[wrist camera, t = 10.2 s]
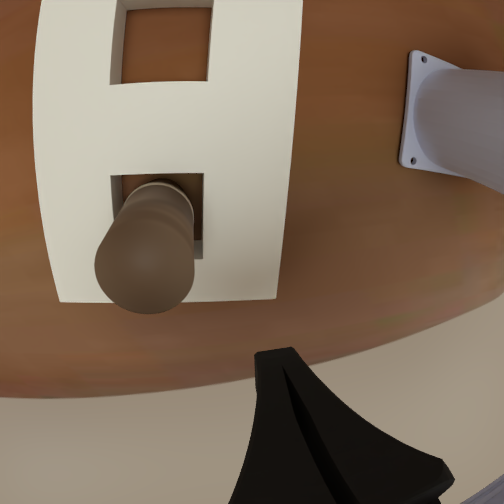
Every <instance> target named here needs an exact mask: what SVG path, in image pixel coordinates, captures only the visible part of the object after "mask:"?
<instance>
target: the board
mask: <svg viewBox="0 0 504 504" xmlns="http://www.w3.org/2000/svg"><path fill="white" fill-rule="evenodd" d="M302 6H303V0H42V3H41V8H40V15H39V22H38V29H37V38H36V48H35V59H34V76H33V138H34V155H35V168H36V178H37V187H38V195H39V203H40V210H41V216H42V223H43V229H44V234H45V240H46V245H47V250H48V255H49V259H50V264H51V268H52V273H53V277H54V281H55V285H56V289H57V293H58V296H59V300H60V302H87V303H114V302H113V301H111V300H110V299H109V298H108V297H107V296H106V295H105V293H104V292H103V291H102V289H101V288H100V286H99V284H98V281H97V279H96V275H95V269H94V262H95V256H96V252H97V249H98V247H99V245H100V244H101V242H102V240H103V238H104V237H105V235H106V233H107V232H108V230H109V228H110V227H111V225H112V223H113V222H114V220H115V218H116V217H117V215H118V213H119V212H120V210H121V208H122V207H123V197H122V179H121V175H129V174H157V173H203V175H202V240H194V266H195V275H194V281H193V285H192V288H191V290H190V292H189V293H188V295H187V296H186V297H185V299H184V300H183V301H182V302H210V301H239V300H262V299H276V294H277V286H278V277H279V269H280V260H281V251H282V242H283V233H284V224H285V215H286V205H287V195H288V185H289V175H290V165H291V154H292V143H293V131H294V120H295V108H296V95H297V82H298V69H299V54H300V39H301V23H302ZM171 7H209V8H212V11H211V22H210V35H209V48H208V62H207V78H206V82H205V81H176V82H146V83H130V84H121V75H122V58H123V45H124V33H125V24H126V15H127V10H136V9H150V8H171Z"/></svg>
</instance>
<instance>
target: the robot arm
mask: <svg viewBox="0 0 504 504" xmlns="http://www.w3.org/2000/svg"><path fill="white" fill-rule="evenodd" d="M421 57H422V58H423V60H424V62H422V60H421ZM412 157H413V162H412V163H411V158H412ZM399 163H400V164H401V165H402V166H404V167H407V168H414V169H420V170H426V171H432V172H438V173H444V174H449V175H455V176H460V177H465V178H469V179H471V180H474V181H476V182H478V183H480V184H483V185H485V186H487V187H489V188H491V189H494V190H496V191H498V192H500V193H502V194H504V72H500V71H487V70H470V69H461V68H459V67H457V66H455V65H452V64H450V63H448V62H446V61H443V60H441V59H438V58H436V57H434V56H431V55H429V54H426V53H423V52H421V51H418V50H413V51H411V52H410V55H409V70H408V84H407V96H406V106H405V116H404V124H403V132H402V140H401V147H400V154H399ZM254 359H255V382H256V383H255V385H256V392H257V401H256V408H255V415H254V422H253V428H252V432H251V437H250V441H249V446H248V449H247V452H246V456H245V460H244V463H243V466H242V469H241V472H240V476H239V478H238V481H237V483H236V486H235V489H234V491H233V494H232V496H231V499H230V501H229V503H228V504H441V502H440V501H439V499H438V497H439V496H440V495H442V493H444V492H445V491H446V490H447V489H448V488H450V486H452V485H453V483H454V480H455V478H454V477H453V475H452V473H451V471H450V470H449V468H448V467H447V465H446V464H445V463H444V461H443V460H442V459H440V458H437V457H435V456H432V455H429V454H427V453H424V452H422V451H419V450H417V449H415V448H413V447H411V446H408V445H406V444H404V443H402V442H400V441H399V440H397V439H395V438H393V437H392V436H390V435H388V434H386V433H384V432H383V431H381V430H380V429H378V428H376V427H375V426H373V425H372V424H371V423H369V422H368V421H366V420H365V419H364V418H362V417H361V416H360V415H358V414H357V413H356V412H354V411H353V410H352V409H351V408H349V407H348V406H347V405H346V404H345V403H344V402H342V401H341V400H340V399H339V398H338V397H337V396H336V395H335V394H334V393H333V392H332V391H331V390H330V389H329V388H328V387H327V386H326V385H325V384H324V383H323V382H322V381H321V380H320V379H319V378H318V377H317V376H316V375H315V374H314V372H312V370H311V369H310V368H309V367H308V366H307V364H306V363H305V362H304V361H303V360H302V358H301V357H300V356H299V354H298V353H297V352H296V351H295V349H294V348H292V347H287V348H281V349H274V350H268V351H261V352H257V353H256V354H255V355H254ZM460 504H504V474H503V475H502V476H500V477H499V478H498V479H496V480H495V481H493V482H492V483H491V484H489V485H488V486H486V487H485V488H483V489H482V490H481V491H479V492H478V493H476V494H475V495H473V496H471V497H470V498H468V499H467V500H465V501H464V502H462V503H460Z"/></svg>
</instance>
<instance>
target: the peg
mask: <svg viewBox="0 0 504 504" xmlns="http://www.w3.org/2000/svg"><path fill="white" fill-rule="evenodd" d="M94 269H95V275H96V279H97V281H98V284H99V286H100V288H101V289H102V291H103V292H104V293H105V295H106V296H107V297H108V298H109V299H110V300H111V301H113V302H114V303H115V304H117V305H118V306H120V307H122V308H124V309H126V310H128V311H131V312H135V313H140V314H156V313H161V312H165V311H167V310H170V309H172V308H173V307H175V306H177V305H178V304H179V303H181V302H182V301H183V300H184V299H185V297H186V296H187V295H188V293H189V292H190V290H191V288H192V285H193V281H194V275H195V266H194V212H193V208H192V204H191V202H190V200H189V199H188V197H187V196H186V195H185V193H184V191H183V189H182V188H181V187H180V186H179V185H178V184H177V183H175V182H174V181H172V180H169V179H155V180H152V181H150V182H149V183H147V184H144V185H142V186H140V187H138V188H137V189H135V190H134V191H133V192H132V193H131V194H130V195H129V197H128V198H127V200H126V201H125V203H124V205H123V207H122V208H121V210H120V212H119V213H118V215H117V217H116V218H115V220H114V222H113V223H112V225H111V227H110V228H109V230H108V232H107V233H106V235H105V237H104V238H103V240H102V242H101V244H100V245H99V247H98V249H97V252H96V256H95V262H94Z"/></svg>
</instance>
